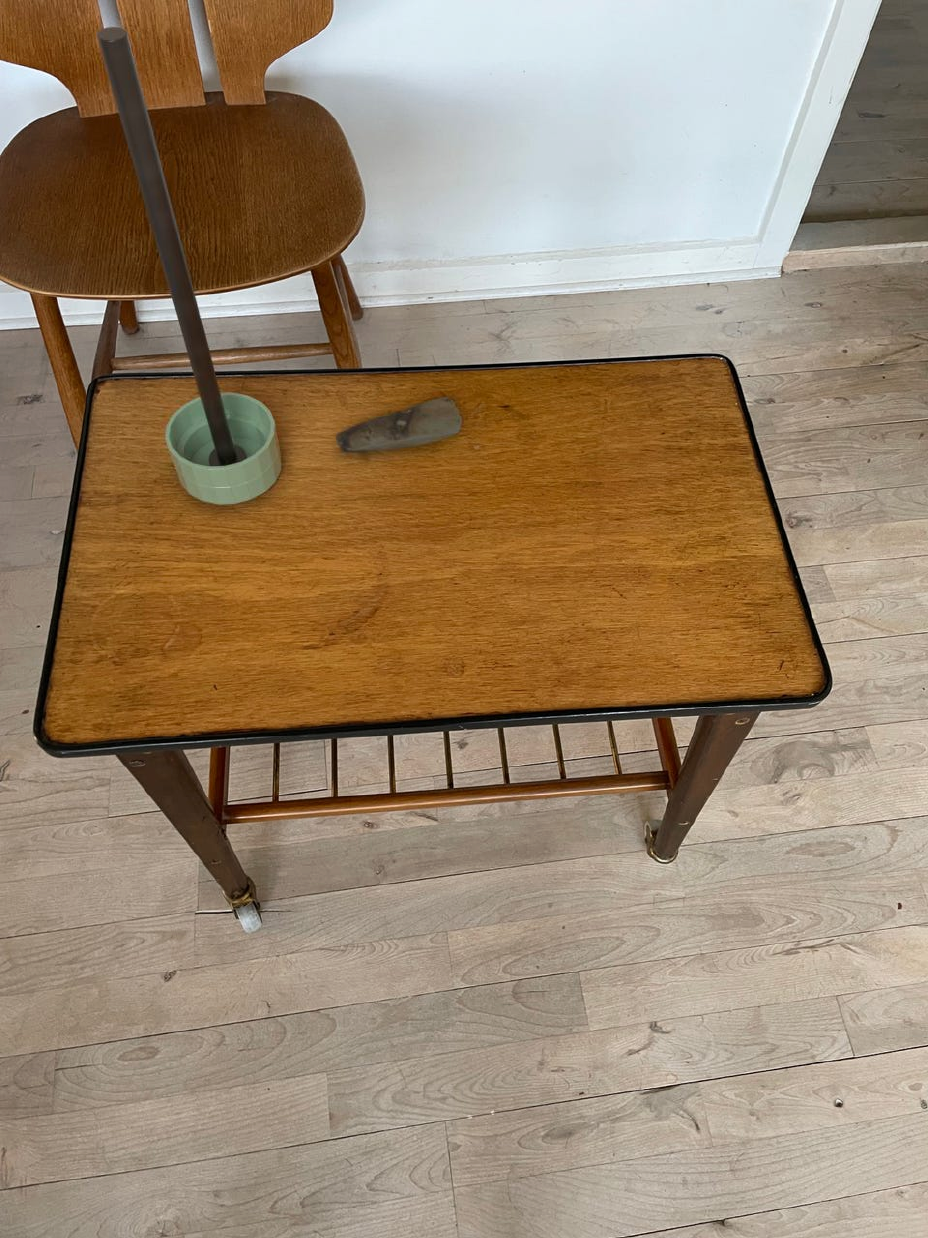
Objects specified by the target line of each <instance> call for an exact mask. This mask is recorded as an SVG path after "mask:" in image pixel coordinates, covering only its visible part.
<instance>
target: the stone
mask: <svg viewBox="0 0 928 1238" xmlns="http://www.w3.org/2000/svg"><path fill="white" fill-rule="evenodd" d="M462 425H463V417H462V416H461V415H460V410H459V408H457V407H456V402H455V400H453V399H452V398H450V397H448V396H442V397H438V398H434V399H431V400H427V401H423V402H421V403H416V404H414V405H412V406H410V407H409V408H406V409H403V410H398V411H395V412H391V413H388V414H384V415H380V416H377V417H374V418H371V419H368V420H366V421H363V422H360V423H358V424H356V425H353V426H350V427H349V428H346V429H345V430H344V429H343V430H342V431H340V433H338V434H336V435H335V439H336V440H335V441H336V444H337V445H338V447H339V449H340V451H342V452H344V453H373V452H381V451H387V450H388V451H389V450H397V449H405V448H412V447H417V446H422V445H423V446H424V445H427V444H430V443H435V442H438V441H441V440H444V439H447V438H450V437H452V436H455V435H457V434H459V432H460V431H461V429H462Z"/></svg>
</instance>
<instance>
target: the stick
mask: <svg viewBox="0 0 928 1238" xmlns="http://www.w3.org/2000/svg"><path fill="white" fill-rule="evenodd" d="M96 38H97V42H98V45H99V49H100V52H101V56H102V59H103V63H104V66H105V70H106V74H107V77H108V80H109V83H110V87H111V90H112V94H113V97H114V101H115V104H116V108H117V112H118V115H119V119H120V122H121V125H122V129H123V132H124V136H125V140H126V143H127V147H128V150H129V153H130V157H131V160H132V163H133V167H134V171H135V175H136V179H137V181H138V185H139V189H140V192H141V195H142V199H143V202H144V206H145V209H146V213H147V217H148V220H149V224H150V227H151V230H152V233H153V237H154V240H155V243H156V248H157V251H158V255H159V259H160V261H161V265H162V269H163V272H164V276H165V279H166V282H167V286H168V290H169V293H170V296H171V300H172V303H173V307H174V310H175V314H176V318H177V321H178V324H179V328H180V331H181V335H182V338H183V342H184V345H185V350H186V353H187V357H188V360H189V363H190V367H191V369H192V373H193V377H194V380H195V384H196V387H197V391H198V393H199V397H200V398H201V402H202V405H203V408H204V412H205V415H206V419H207V422H208V426H209V429H210V433H211V436H212V440H213V443H214V447H215V449H214V450H213V451H212V452H211V453H210V455H209V464H210V466H227V465H231V464H235V463H238V462H242V461H243V460H245V459H247V456H246V453H245V451H244V450H243V449H242V448H241V447H240V446H238V445H234V443H233V440H232V436H231V432H230V428H229V424H228V420H227V416H226V413H225V409H224V405H223V401H222V397H221V393H222V392H221V390H220V385H219V382H218V378H217V375H216V370H215V367H214V363H213V359H212V355H211V351H210V348H209V343H208V340H207V335H206V333H205V332H206V331H205V328H204V324H203V320H202V316H201V313H200V309H199V305H198V301H197V297H196V293H195V289H194V285H193V282H192V278H191V274H190V270H189V266H188V262H187V258H186V255H185V251H184V247H183V244H182V239H181V235H180V231H179V228H178V223H177V219H176V215H175V212H174V208H173V205H172V200H171V196H170V193H169V189H168V186H167V182H166V177H165V174H164V169H163V166H162V162H161V158H160V153H159V151H158V146H157V143H156V138H155V135H154V131H153V127H152V123H151V120H150V115H149V112H148V108H147V103H146V100H145V96H144V92H143V88H142V84H141V81H140V76H139V73H138V68H137V65H136V61H135V57H134V54H133V50H132V46H131V42H130V38H129V34H128V32H127V30H125V29H124V28H122V27H118V26H109V27H105V28H102V29H99V31H97V33H96Z"/></svg>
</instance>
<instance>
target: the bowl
mask: <svg viewBox="0 0 928 1238" xmlns="http://www.w3.org/2000/svg"><path fill="white" fill-rule="evenodd" d="M220 393H221V397H222V401H223V405H224V409H225V413H226V416H227V420H228V424H229V428H230V432H231V436H232V440H233V443H234V445H238V446H240V447H241V448H242V449H243V450H244V451H245V453H246V456H247V459H245V460H243V461H242V462H238V463H235V464H231V465H227V466H210V464H209V455H210V453H211V452H212V451H213V450H214V449H215V447H214V443H213V440H212V436H211V433H210V429H209V426H208V422H207V419H206V415H205V412H204V408H203V405H202V402H201V398H200V396H198V397H196V398H194V399H191V400H190V401H188V402H186V403H184V404H182V405H181V406H180V407H179V408H178V409H177V410H176V411H175V412H174V413H173V414H172V415H171V417H170V419H169V421H168V422H167V424H166V428H165V434H164V439H165V442H166V445H167V449H168V451H169V454H170V457H171V460H172V463H173V465H174V469H175V471H176V475H177V476H178V480H179V484H180V485H181V486H182V488H184V490H185V491H186V492H187V493H188V494H189V495H190V496H192V497H194V498H196V499H198V500H199V501H201V502H204V503H208V504H214V505H222V506H223V505H236V504H240V503H243V502H248V501H251V500H253V499H255V498H258V497H259V496H261V495H262V494H264V493H265V492H267V491H268V490H269V489H270V488H271V487H272V486H273V485H274V484H275V483H276V481H277V479H278V477H279V475H280V474H281V471H282V459H283V458H282V452H281V447H280V441H279V437H278V432H277V426H276V421H275V418H274V417H273V414H272V412H271V410H270V409H268V407H267V406H266V405H265V404H264V403H262V401H261V400H258V399H256V398H254V397H252V396H250V395H247V394H244V393H243V394H242V393H237V392H233V391H232V392H231V391H230V392H229V391H227V392H225V391H224V392H220Z"/></svg>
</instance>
